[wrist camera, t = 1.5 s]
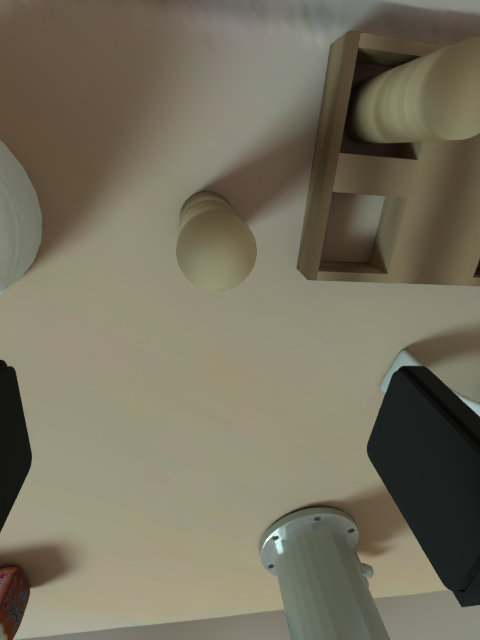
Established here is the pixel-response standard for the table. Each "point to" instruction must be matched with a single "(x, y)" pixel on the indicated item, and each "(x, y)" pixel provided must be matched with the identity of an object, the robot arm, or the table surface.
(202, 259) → the loose peg
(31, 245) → the honey pot
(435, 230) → the wooden peg tray
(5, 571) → the snack package
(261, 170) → the table surface
